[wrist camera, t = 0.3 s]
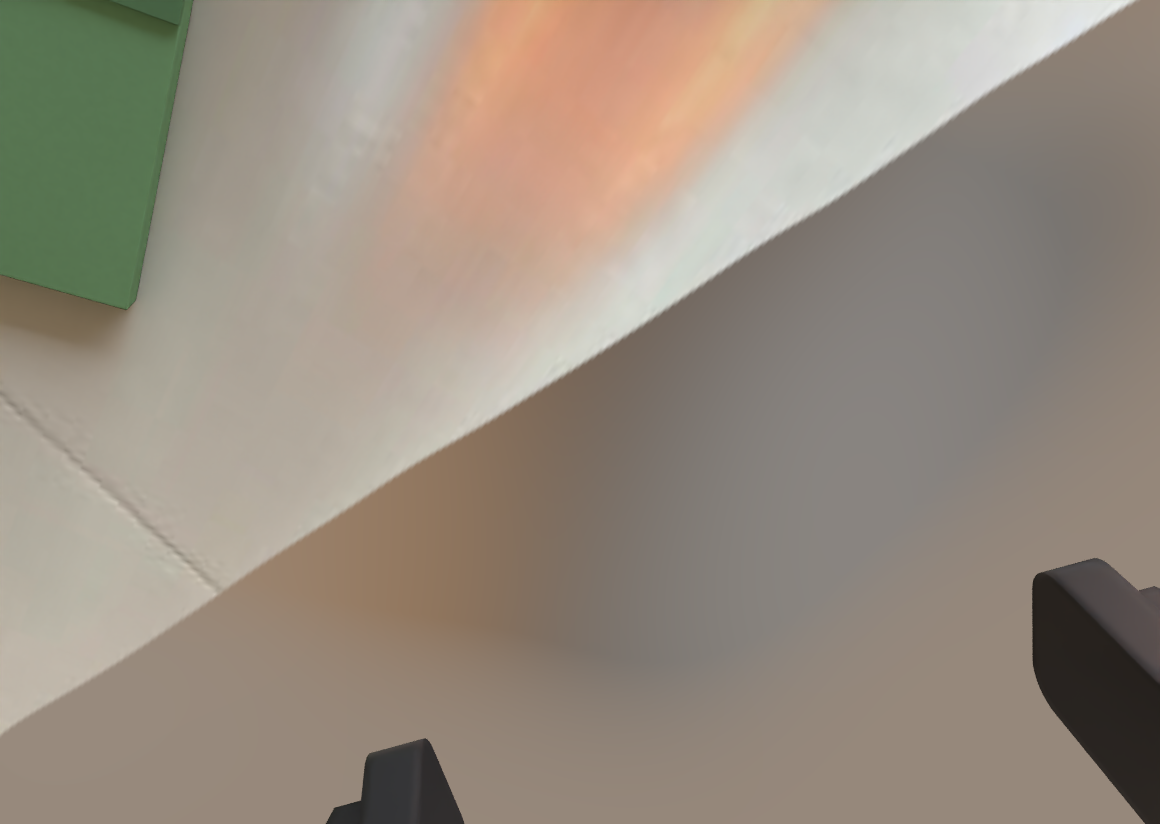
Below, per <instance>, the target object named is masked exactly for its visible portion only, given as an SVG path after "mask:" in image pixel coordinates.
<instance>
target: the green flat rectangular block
mask: <svg viewBox="0 0 1160 824" xmlns="http://www.w3.org/2000/svg"><path fill="white" fill-rule="evenodd" d="M192 4H193V0H0V275H3V276H7V277H10V278H14V279H17V280H21V281H25V282H28V283H32V284H35V285H39V286H43V287H46V288H50V289H53V290H57V291H60V292H64V293H68V294H71V295H75V296H78V297H82V298H85V299H89V300H93V301H96V302H100V303H103V304H107V305H110V306H114V307H118V308H121V309H125V310H127V309H128V308H129V307H130V306H131V305H132V304H133V303H134V302H135V301H136V297H137V291H138V286H139V281H140V276H141V270H142V265H143V260H144V255H145V249H146V244H147V239H148V234H149V229H150V223H151V218H152V213H153V208H154V202H155V197H156V192H157V187H158V182H159V176H160V171H161V166H162V161H163V155H164V150H165V145H166V140H167V134H168V129H169V124H170V119H171V114H172V108H173V103H174V98H175V93H176V87H177V82H178V77H179V72H180V66H181V61H182V56H183V51H184V46H185V40H186V35H187V30H188V25H189V19H190V14H191V9H192Z"/></svg>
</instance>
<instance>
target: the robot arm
mask: <svg viewBox="0 0 1160 824" xmlns="http://www.w3.org/2000/svg"><path fill="white" fill-rule="evenodd" d="M1032 590H1033V591H1032V601H1033V603H1032V609H1033V611H1032V613H1033V615H1032V616H1033V619H1032V620H1033V621H1032V622H1033V623H1032V624H1033V667H1034V672H1035V675H1036V679H1037V682H1038V684H1039V687H1040V689H1041V691H1042V693H1043V695H1044V697H1045V699H1046V701H1047V702H1048V704H1049V706H1050V707H1051V709H1052V710H1053V711H1054V712H1055V714H1056V715H1057V716H1058V717H1059V719H1060V720H1061V721H1062V722H1063V724H1064V725H1065V726H1066V727H1067V729H1069V731H1070V732H1071V733H1072V735H1073V736H1074V737H1075V738H1076V739H1077V741H1078V742H1079V743H1080V744H1081V746H1082V747H1083V748H1084V749H1085V751H1086V752H1087V753H1088V754H1089V755H1090V757H1091V758H1092V759H1093V760H1094V762H1095V763H1096V764H1097V765H1098V766H1099V768H1100V769H1101V770H1102V771H1103V773H1104V774H1105V775H1106V776H1107V777H1108V779H1109V780H1110V781H1111V782H1112V784H1113V785H1114V786H1115V787H1116V789H1117V790H1118V791H1119V792H1120V793H1121V795H1122V796H1123V797H1124V798H1125V800H1126V801H1127V802H1128V803H1129V804H1130V806H1131V807H1132V808H1133V809H1134V811H1135V812H1136V813H1137V814H1138V816H1139V817H1140V818H1141V819H1142V820H1143V822H1144V823H1145V824H1160V588H1157V587H1155V586H1153V587H1150V588H1146V589H1143V590H1139V591H1138V590H1137V589H1136V588H1135V587H1133V586H1132V585H1131V584H1130V583H1129V582H1128V581H1127V580H1126V579H1125V578H1123V577H1122V576H1121V575H1120V574H1119V573H1118V572H1117V571H1116V570H1114V569H1113V568H1112V567H1111V566H1110V565H1109V564H1107V563H1106V562H1104V561H1103V560H1100V559H1097V558H1093V559H1090V560H1086V561H1082V562H1078V563H1075V564H1071V565H1068V566H1064V567H1060V568H1056V569H1053V570H1049V571H1045V572H1042V573H1039V574H1037V575H1036V576H1035V578H1034V580H1033V588H1032ZM326 824H464V821H463V818H462V816H461V813H460V811H459V808H458V806H457V804H456V801H455V799H454V797H453V795H452V792H451V789H450V787H449V785H448V782H447V780H446V778H445V775H444V773H443V771H442V768H441V766H440V764H439V761H438V759H437V757H436V754H435V752H434V750H433V748H432V746H431V744H430V742H429V741H428V740H427V739H421V740H417V741H413V742H410V743H406V744H402V745H399V746H395V747H392V748H388V749H384V750H380V751H377V752H373V753H370V754H369V755H368V756H367V759H366V762H365V769H364V778H363V788H362V797H361V801H358V802H354V803H350V804H347V805H343V806H340V807H336V808H334V810H333V812H332V813H331V815H330V817H329V819H328V821H327V823H326Z"/></svg>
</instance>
